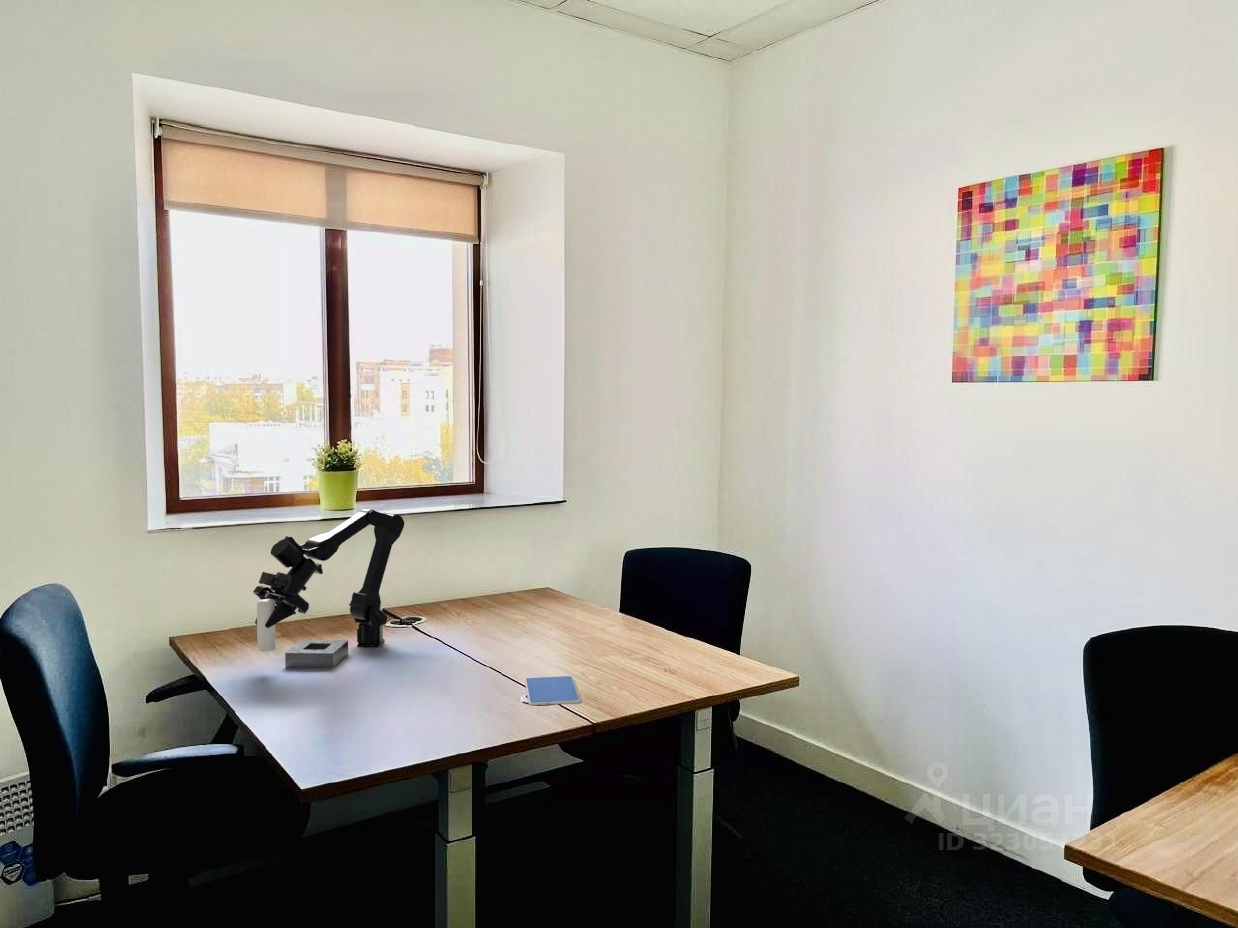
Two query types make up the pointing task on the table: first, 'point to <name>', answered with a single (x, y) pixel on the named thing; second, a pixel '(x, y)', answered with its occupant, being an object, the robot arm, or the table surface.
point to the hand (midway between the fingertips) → (261, 625)
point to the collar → (316, 654)
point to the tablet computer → (551, 690)
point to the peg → (264, 634)
